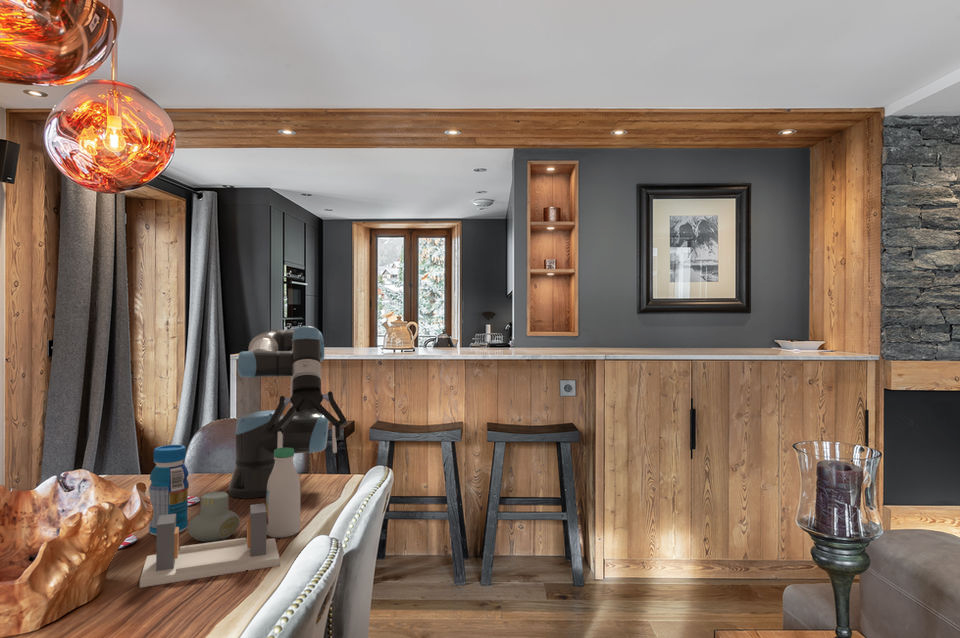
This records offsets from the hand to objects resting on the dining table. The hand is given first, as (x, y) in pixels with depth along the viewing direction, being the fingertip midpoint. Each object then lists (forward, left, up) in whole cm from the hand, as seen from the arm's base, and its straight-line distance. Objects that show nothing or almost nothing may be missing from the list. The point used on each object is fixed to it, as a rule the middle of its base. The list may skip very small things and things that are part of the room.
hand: (307, 454), depth 146 cm
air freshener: (+5, -21, -17) cm, 28 cm away
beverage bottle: (-4, -31, -17) cm, 36 cm away
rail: (+21, -21, -16) cm, 34 cm away
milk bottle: (+8, -6, -17) cm, 19 cm away
